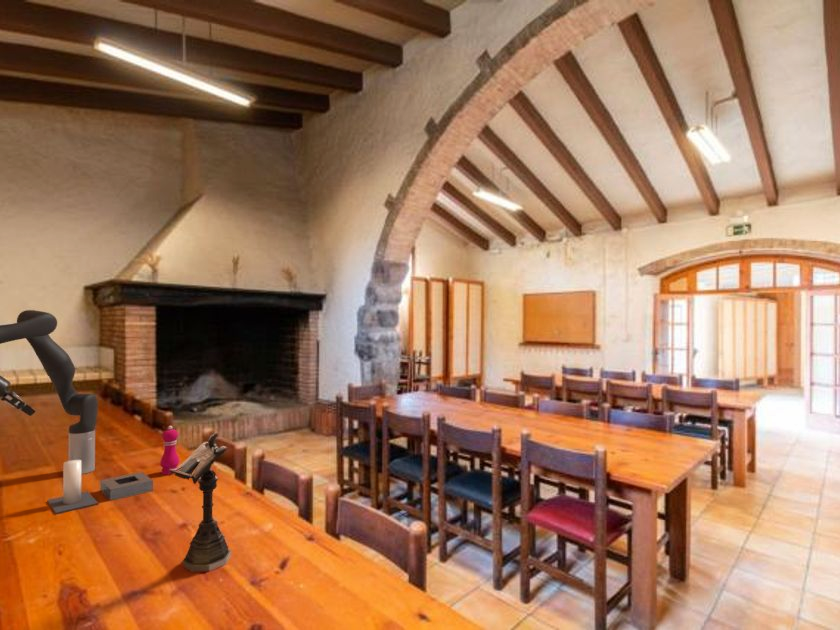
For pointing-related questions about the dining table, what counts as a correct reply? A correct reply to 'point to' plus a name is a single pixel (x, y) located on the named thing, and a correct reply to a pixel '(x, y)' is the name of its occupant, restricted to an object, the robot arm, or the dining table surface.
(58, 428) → the dining table surface
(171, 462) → the pepper mill
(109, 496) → the block
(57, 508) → the mat
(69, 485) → the plug
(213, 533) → the ornate lectern
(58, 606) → the dining table surface
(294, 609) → the dining table surface
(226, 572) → the dining table surface
